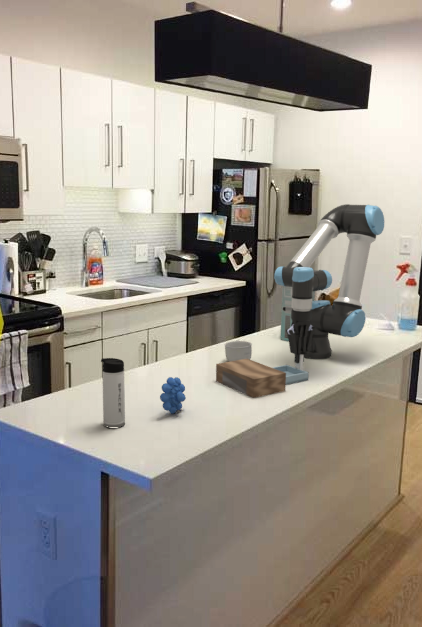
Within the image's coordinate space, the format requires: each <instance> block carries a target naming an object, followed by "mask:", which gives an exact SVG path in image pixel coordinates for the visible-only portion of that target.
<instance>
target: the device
mask: <svg viewBox="0 0 422 627" xmlns="http://www.w3.org/2000/svg"><path fill="white" fill-rule="evenodd" d="M281 291H282V292H281V311H280V312H281V316H280V317H281V318H280V336H279V337H280V339H279V340H280V341H283V342H288V343H289V340H288V334H287V333H286V329H289V328H290V327H291V324H292V319H291V310H292V309H293V308H292V307H291V306H292V287H285V286H281ZM315 294H316V291H313V294H312V301H315V297H316V296H315Z"/></svg>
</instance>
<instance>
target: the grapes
mask: <svg viewBox="0 0 422 627" xmlns="http://www.w3.org/2000/svg"><path fill="white" fill-rule="evenodd" d="M161 390H162V393H161V394H160V395H159V399H160V401H161V402H162V408H163V410H164V411H165V412H167V411H168V412H169V413H170V414H175V413H176V412H177V411H180V410H182V408H183V402H184V401H185V400H186V398H187V397H186V395H185V391H186V386H185V385H184V383H182V381H181V379H180V377H172V376H170V377H168V378H167V379H166V383H165V382H164V383H163V384H162V385H161Z"/></svg>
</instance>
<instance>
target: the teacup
mask: <svg viewBox="0 0 422 627" xmlns="http://www.w3.org/2000/svg"><path fill="white" fill-rule="evenodd" d="M252 345H253V343H252V342H251V341H247V340H246V341H245V340H239V339H237V340H233V341H232V340H231V341H228V342H226V343H224V352H225V359H226V360H227V362H230V361H236V360H242V359H250V360H252V359H251V358H252V353H253V352H252V351H253V350H252Z"/></svg>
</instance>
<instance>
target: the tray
mask: <svg viewBox="0 0 422 627" xmlns="http://www.w3.org/2000/svg"><path fill="white" fill-rule="evenodd" d="M271 368H274V369H277V370H279V371H282V372H285V373H286V386H287V385H292V384H296V383H301V382H306V381H309V374H310V373H309V371H306V370H304V369H303V370H301V369H298V368H295V366H292V365H288V364H284V365H279V366H273V367H271Z"/></svg>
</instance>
